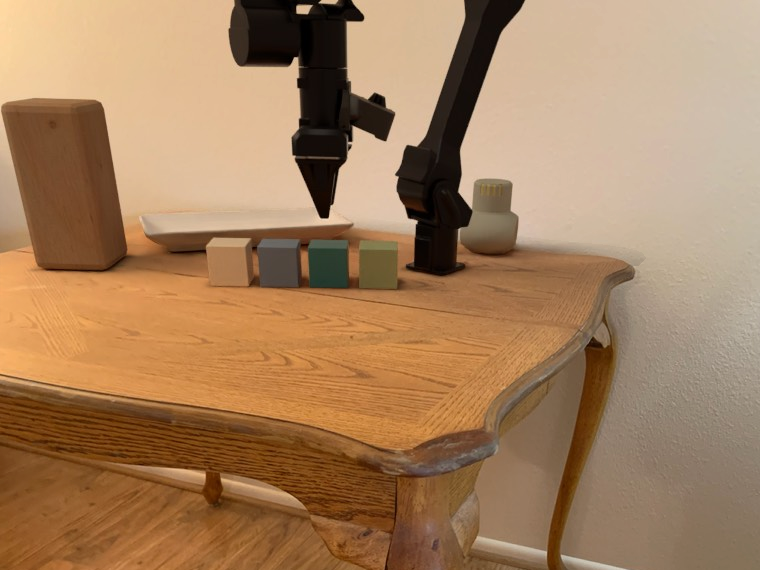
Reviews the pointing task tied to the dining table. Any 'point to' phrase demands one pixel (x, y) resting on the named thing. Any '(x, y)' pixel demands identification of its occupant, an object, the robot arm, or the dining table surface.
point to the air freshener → (491, 218)
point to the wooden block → (66, 182)
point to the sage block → (378, 264)
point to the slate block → (279, 262)
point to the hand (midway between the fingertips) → (327, 211)
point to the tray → (240, 226)
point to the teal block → (328, 263)
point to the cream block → (230, 261)
